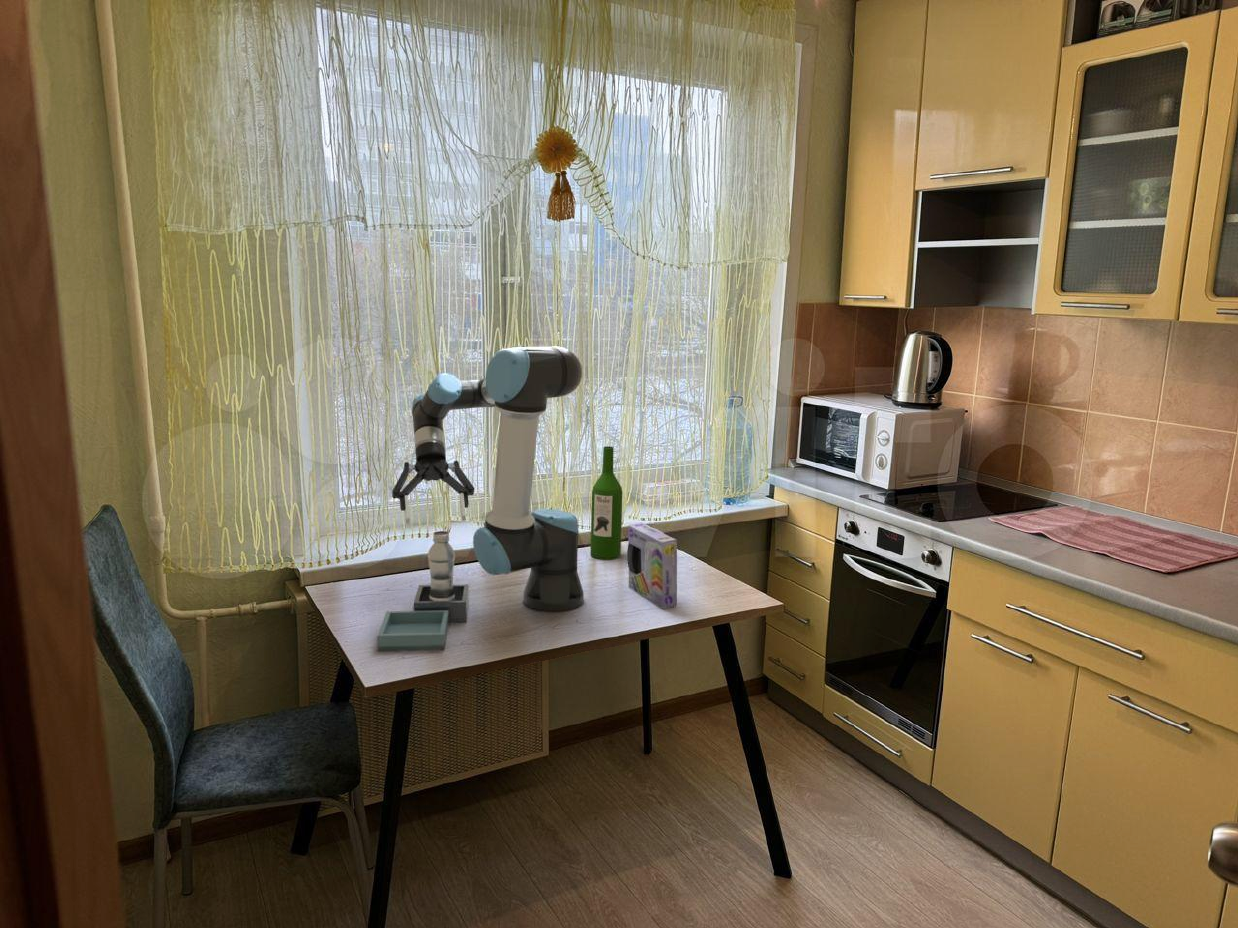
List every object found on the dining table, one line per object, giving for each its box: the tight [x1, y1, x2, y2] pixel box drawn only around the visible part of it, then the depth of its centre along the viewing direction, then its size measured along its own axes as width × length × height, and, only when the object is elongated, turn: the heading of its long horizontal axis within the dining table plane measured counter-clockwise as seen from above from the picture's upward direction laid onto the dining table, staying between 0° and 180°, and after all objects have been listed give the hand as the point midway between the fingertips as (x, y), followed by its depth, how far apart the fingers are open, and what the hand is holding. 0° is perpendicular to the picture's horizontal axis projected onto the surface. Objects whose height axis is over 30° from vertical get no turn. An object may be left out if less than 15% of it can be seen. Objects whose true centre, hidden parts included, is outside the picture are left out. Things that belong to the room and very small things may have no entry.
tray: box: [377, 610, 450, 652], centre depth 193 cm, size 14×14×4 cm
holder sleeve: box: [413, 584, 470, 624], centre depth 207 cm, size 12×12×5 cm
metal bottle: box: [427, 530, 456, 601], centre depth 205 cm, size 6×7×20 cm
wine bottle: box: [590, 445, 623, 561], centre depth 251 cm, size 9×9×32 cm
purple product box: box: [626, 522, 678, 609], centre depth 221 cm, size 19×5×18 cm, turn 27°
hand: (436, 519), depth 213 cm, fingers open, 13 cm apart
